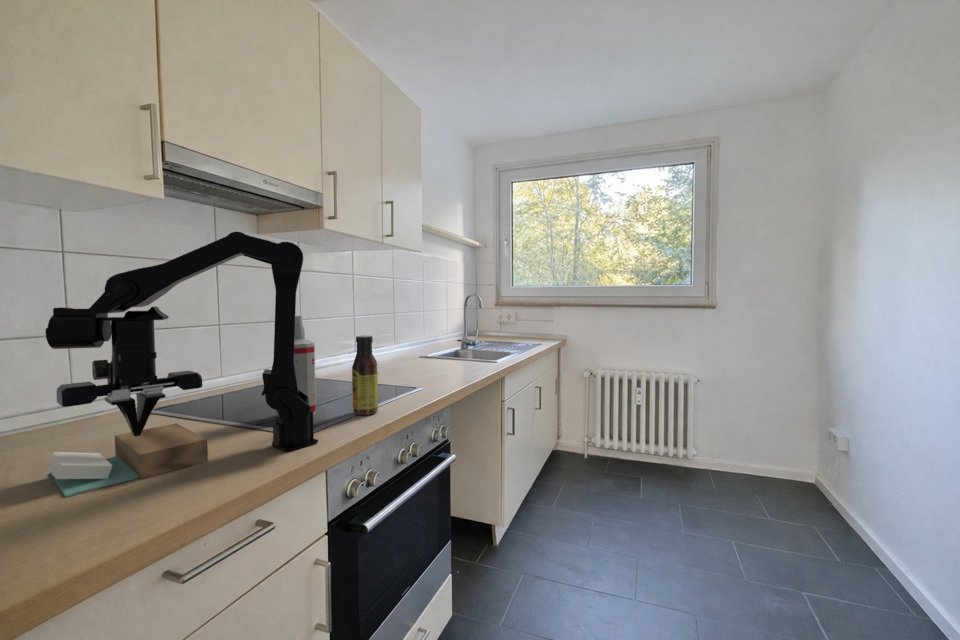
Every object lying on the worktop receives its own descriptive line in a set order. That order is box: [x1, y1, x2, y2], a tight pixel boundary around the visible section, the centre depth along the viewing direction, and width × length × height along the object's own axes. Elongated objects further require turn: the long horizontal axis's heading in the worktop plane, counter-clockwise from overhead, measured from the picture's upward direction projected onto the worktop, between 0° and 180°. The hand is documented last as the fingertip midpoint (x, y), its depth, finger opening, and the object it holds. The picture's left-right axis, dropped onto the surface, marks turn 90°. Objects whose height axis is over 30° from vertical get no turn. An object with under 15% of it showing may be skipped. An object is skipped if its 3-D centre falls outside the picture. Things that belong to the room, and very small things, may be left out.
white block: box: [47, 451, 112, 479], centre depth 66 cm, size 6×9×2 cm, turn 52°
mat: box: [49, 456, 140, 498], centre depth 68 cm, size 9×14×1 cm, turn 52°
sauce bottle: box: [351, 334, 379, 416], centre depth 105 cm, size 6×6×20 cm
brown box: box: [114, 422, 209, 480], centre depth 75 cm, size 10×16×4 cm, turn 52°
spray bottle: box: [294, 315, 317, 416], centre depth 104 cm, size 8×8×25 cm
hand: (136, 435), depth 72 cm, fingers closed
